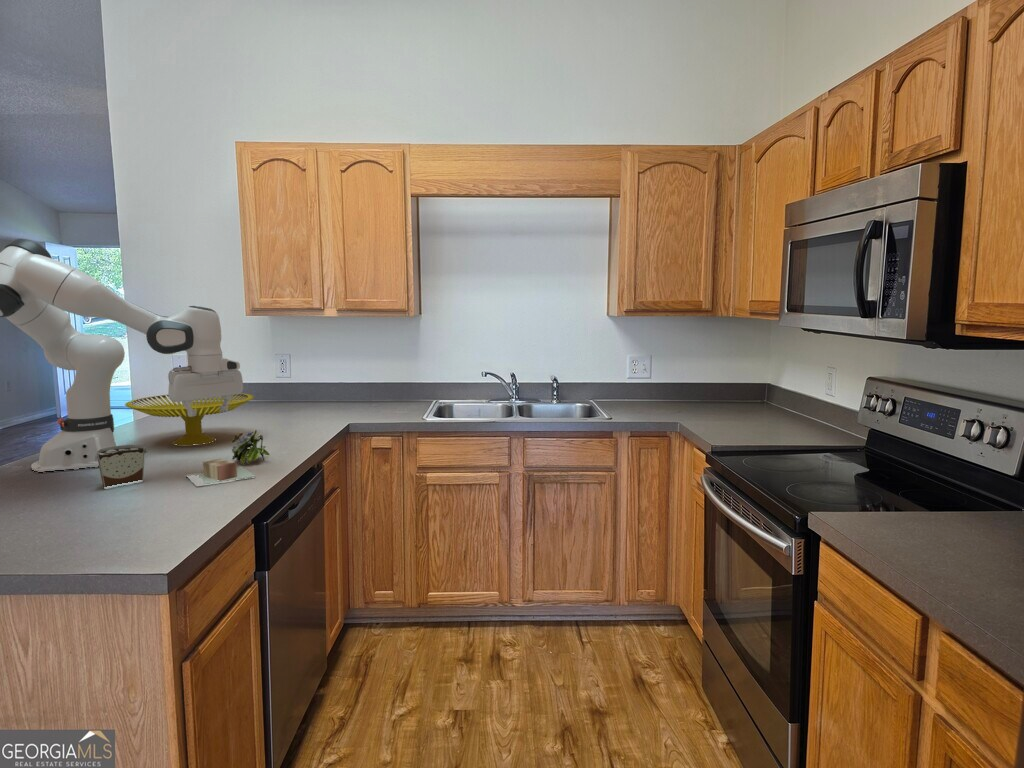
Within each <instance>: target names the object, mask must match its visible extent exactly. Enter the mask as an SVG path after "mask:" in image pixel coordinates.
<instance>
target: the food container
mask: <svg viewBox="0 0 1024 768" xmlns="http://www.w3.org/2000/svg"><path fill="white" fill-rule="evenodd" d="M145 453H146V454H147V453H148V451H147V447H146V446H145V445H142V444H123V445H116V446H113V447H108V448H103V449H100V450H98V451H97V453H96V455H95V461H97V458H98V463H99V467H98V468H99V472H100V477H101V481H102V486H103V487H107V486H112V485H117V484H122V483H128V482H133V481H138V480H143V481H144V479H145V478H144V475H145V474H144V472H145ZM103 487H102V488H103Z"/></svg>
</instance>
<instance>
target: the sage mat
mask: <svg viewBox="0 0 1024 768" xmlns="http://www.w3.org/2000/svg"><path fill="white" fill-rule="evenodd" d="M236 469H237V477H234V478H230V479H226V480H221V481H217V480H215V479H212V478H208V477H204V473H203V472H197V473H190V474H185V477H186V476H188V475H190V476H191V475H192V474H193V475H195V476H197V475H199V478H201V477H202V478H201V479H203V482H204V483H203V484H210V483H211V482H212V483H215V482H222V481H229V480H236V479H245V478H252V477H255V478H256V476H255V475H254V474H253V473H251V472H250V471H248V470H247V469H246V468H245V467H244V466H238V467H237V466H236ZM205 481H207V482H205ZM213 481H215V482H213ZM209 482H210V483H209Z"/></svg>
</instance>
